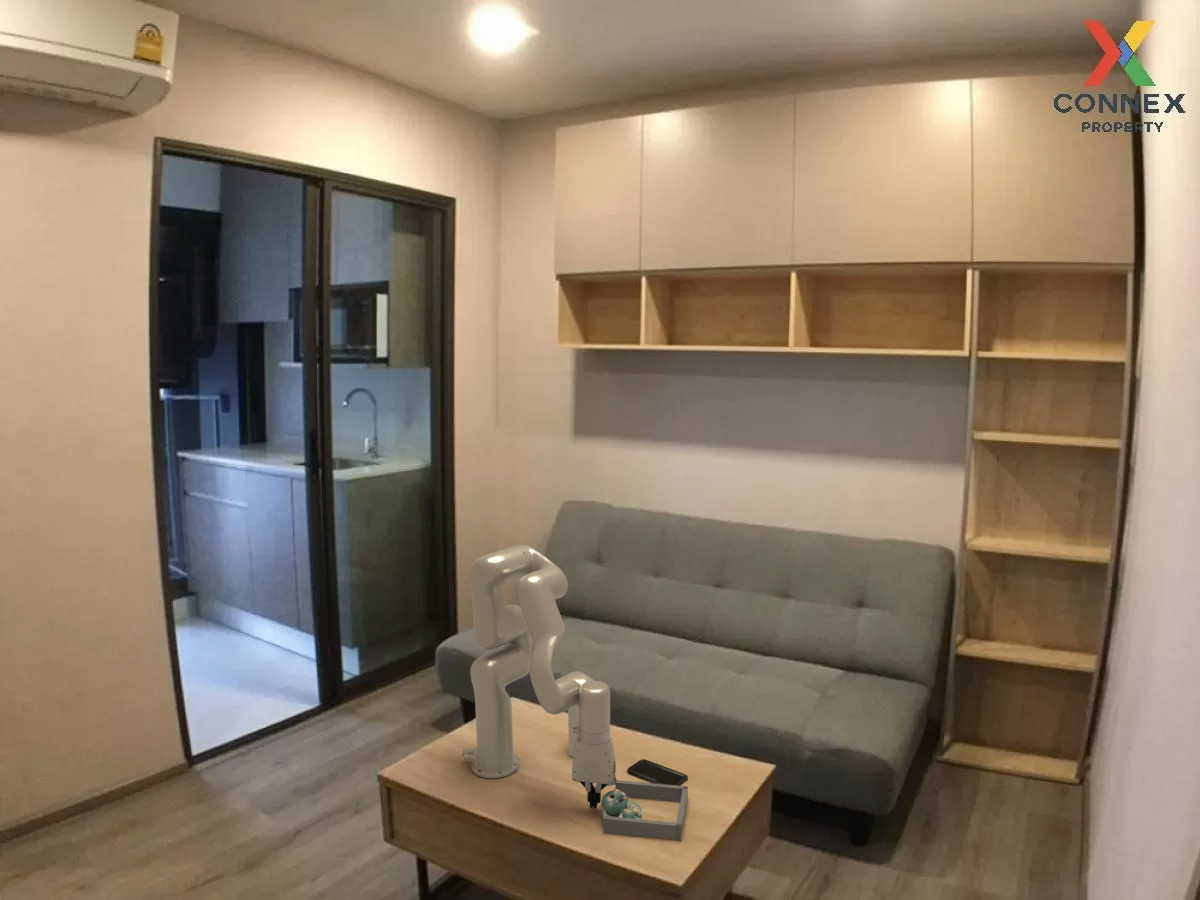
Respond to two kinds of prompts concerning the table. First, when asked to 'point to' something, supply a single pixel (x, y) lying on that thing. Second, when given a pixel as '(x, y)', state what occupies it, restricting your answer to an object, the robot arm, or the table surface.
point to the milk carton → (572, 722)
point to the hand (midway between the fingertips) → (594, 804)
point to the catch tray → (649, 826)
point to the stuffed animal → (619, 805)
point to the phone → (656, 773)
